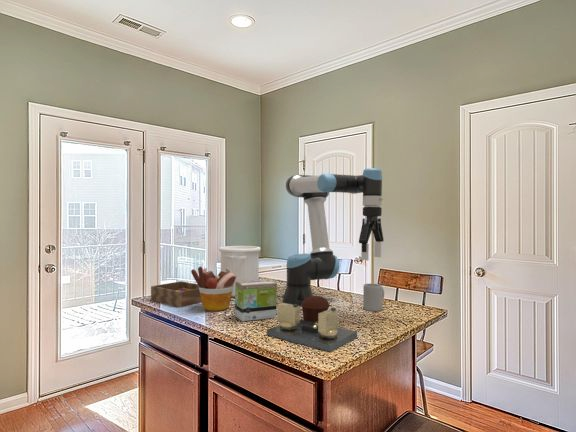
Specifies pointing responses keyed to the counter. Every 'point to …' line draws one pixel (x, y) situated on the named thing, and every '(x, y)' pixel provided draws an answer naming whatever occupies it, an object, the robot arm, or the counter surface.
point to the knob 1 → (288, 315)
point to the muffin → (313, 307)
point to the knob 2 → (328, 323)
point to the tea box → (255, 300)
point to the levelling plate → (312, 336)
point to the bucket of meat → (215, 288)
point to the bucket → (241, 262)
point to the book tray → (176, 294)
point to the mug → (373, 297)
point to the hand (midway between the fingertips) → (371, 258)
